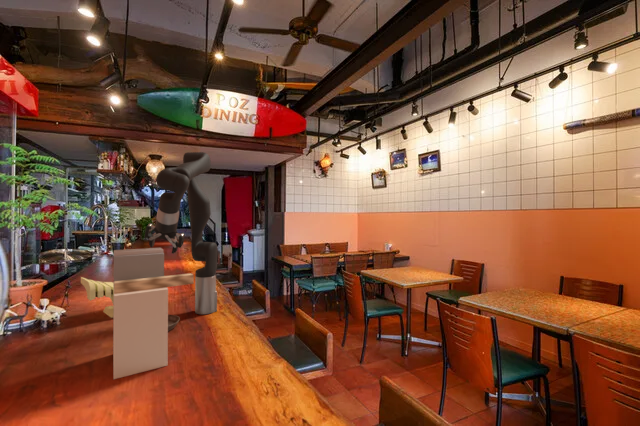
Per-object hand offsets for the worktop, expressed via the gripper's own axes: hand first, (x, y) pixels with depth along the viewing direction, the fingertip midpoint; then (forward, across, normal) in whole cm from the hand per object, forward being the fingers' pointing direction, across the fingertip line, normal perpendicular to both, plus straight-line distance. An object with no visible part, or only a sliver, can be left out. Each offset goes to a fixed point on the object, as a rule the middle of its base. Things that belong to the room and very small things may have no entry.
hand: (162, 249), depth 123 cm
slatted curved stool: (+45, +13, 0) cm, 47 cm away
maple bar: (-10, -9, +28) cm, 31 cm away
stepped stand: (+12, -11, +38) cm, 42 cm away
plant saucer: (+28, -8, +17) cm, 33 cm away
